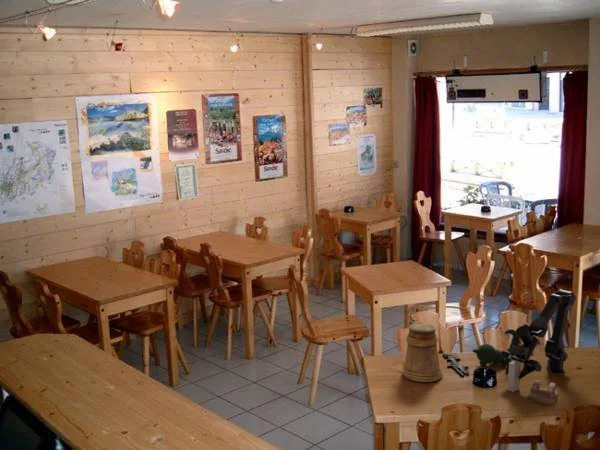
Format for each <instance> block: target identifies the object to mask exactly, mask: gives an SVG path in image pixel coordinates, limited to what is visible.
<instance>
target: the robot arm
mask: <svg viewBox="0 0 600 450" xmlns="http://www.w3.org/2000/svg"><path fill="white" fill-rule="evenodd" d="M576 300H577V296H576V294H575V293H574V291H570V290H566V289H559V290H556V291H554V292H553V293H551V294H549V298H548V300H547V302H546V304H545V306H544V307H543V309H542V311H541V313H540V314H539V316H538V317H537V318H535V319H533V320H532V321H531V323H530V324H527V323H524V324H523V325H521V326H519V327H518V328H516V330H515V332H516V334H517V336H518V337H519V338H520V339H519V340H520V341H521V344H520V345H519V347H516V346H513V345H512V348H511V352H512V353H513V352H514V355H515V356H513V355H512V354H511V352H508V351H507V350H505V349H503V350H501V351H502V352H501V354H500V355H501V356H502V357H503V358H504V360H506V362H507V363H506V366H505V376H508V373H509V363H510V362H512V361H518V362H521V364H523V367H522V369H521V370H520V375H519V377H518V379H519V380H520V381H521V379H523V378H524V377H525V376H527V375H529V374H530V373H532V372H538V373H540V372H541V371H542V369H543V368H542V364H541V363H540V362H539V361H538V360H535V359H532V358H531V357H532V356H534V355H535V354H534V351H535V349H536V347H537V346H540V345H541V342H540V339H539V338H544V337H545V336H546V335H547V332H548V330H549V323H550V320H551V319H552V317H553V316H554V314H555V312H556V315H555V320H554V324H553V329H552V334H551V337H550V338H549V339H547V340H546V341H545V345H544V353H545V358H548V360H547V361H546V363H547V365H546V368H545V369H547V370H548V371H550V372H551V374H552V373H553V374H555V373H557V374H558V373H565V372H566V371H565V369H564V363H565V362H566V360H567V359H568V354H567V352H566V351H565V347H566V346H565V343H564V340H563V339H564V333H565V329H566V328H565V327H566V324H567V318H568V316H569V315H568V314H569V310H570V309H571V308H572V307H573V306H574V305H575V301H576ZM537 337H538V338H537Z"/></svg>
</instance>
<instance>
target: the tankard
mask: <svg viewBox="0 0 600 450" xmlns="http://www.w3.org/2000/svg"><path fill="white" fill-rule="evenodd" d="M408 323H409V324H408V325H409V326H408V334H407V336H406V339H405V342H406V344H407V347H406V352H405V362H404V364H403V366H402V375H403V376H404V377H405V378H406V379H408V380H410V381H413V382H418V383H430V382H435V381H439V380H440V379H441V378H443V371H442V368H441V366H440V359H439V354H438V353H439V352H438V345H437V343H438V335H437V334H436V330H437V329H436V327H435V326H434V325H432V324H430V323H429V324H428V323H424V322H422V321H421V320H418V319H417V318H416V317H413V318H412V320H410V321H409V322H408Z"/></svg>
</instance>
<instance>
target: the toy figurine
mask: <svg viewBox="0 0 600 450" xmlns="http://www.w3.org/2000/svg"><path fill="white" fill-rule="evenodd" d="M507 334H510V335H511V336H512V338H511V343H510V344H509V347H508V348H507V350H506V351H508V352H511V348H512V345H513V346H516V347H519V346H520V345H521V344H522V341H521V339H520V338H519V337H518V336H517V334H516V330H515V329H513V328H510V329H507V330H506V331H505V332H504V335H507ZM519 344H520V345H519ZM502 351H503V350H501V351H500V350H499V349H496V348H495V347H494V346H493V345H492V344H489V343H484V344H481V345H480V346H478V348H476V349H475V348H474V349H472V352H473V353H474V354H476V357H477V360H479V365H480V366H481V367H483V368H486V367H487V366H488V364H494V366H495V367H499V366H500V364H501V365H503V367H506V363H507V362H506V360H504V358H503V357H502V356H501V355H500V354H501V352H502ZM511 354H512V355H513V356H516V355H514V352H513V353H512V352H511Z"/></svg>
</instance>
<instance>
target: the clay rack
mask: <svg viewBox="0 0 600 450" xmlns="http://www.w3.org/2000/svg"><path fill="white" fill-rule="evenodd" d="M540 384H541V381H540V379H539V380H538V379H535V380H534V382H533V383H532V385H531V387H530V390H529V393H528V395H527V397H526V401H528V402H533V403H539V404H545V405H549V406H554V404H555V402H556V400H557V399H558V398H557V397H558V395H559V391H557V390H556V383H555V382H550V383H549V385H548V387H547V388H546V389H545V388H541V387H540V386H541V385H540Z"/></svg>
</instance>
